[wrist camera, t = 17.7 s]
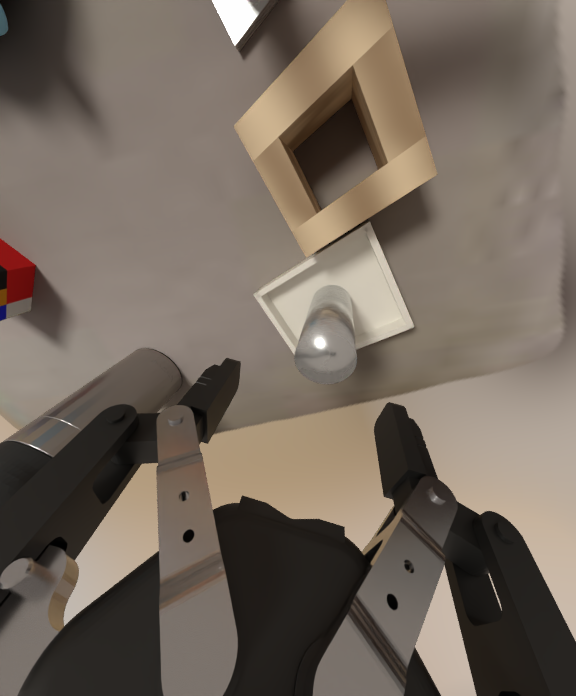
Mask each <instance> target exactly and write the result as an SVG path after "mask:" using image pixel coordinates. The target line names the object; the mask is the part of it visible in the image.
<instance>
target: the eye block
mask: <svg viewBox="0 0 576 696" xmlns="http://www.w3.org/2000/svg"><path fill="white" fill-rule="evenodd" d="M350 99H352V101H353V104H354V107H355V109H356V112H357V115H358V117H359V120H360V122H361V125H362V128H363V130H364V133H365V136H366V138H367V141H368V143H369V146H370V149H371V151H372V154H373V157H374V159H375V162H376V165H377V167H378V171H376V172H375V173H373V174H372V175H371V176H369V177H368V178H366V179H365V180H364V181H362V182H361V183H359V184H358V185H357V186H355V187H354V188H352V189H351V190H350V191H348V192H347V193H345V194H344V195H343V196H341V197H340V198H338V199H337V200H336V201H334V202H333V203H331V204H330V205H329V206H327V207H326V208H324V209H323V210H321V208H320V206H319V204H318V202H317V200H316V198H315V196H314V194H313V192H312V190H311V188H310V186H309V184H308V182H307V180H306V177H305V175H304V173H303V171H302V169H301V167H300V165H299V163H298V161H297V159H296V157H295V155H294V153H293V151H294V150H295V149H296V148H297V147H298V146H299V145H300V144H301V143H303V142H304V141H305V140H306V139H307V138H308V137H309V136H310V135H311V134H313V133H314V132H315V131H316V130H317V129H318V128H319V127H320V126H321V125H323V124H324V123H325V122H326V121H327V120H328V119H329V118H330V117H331V116H333V115H334V114H335V113H336V112H337V111H338V110H339V109H340V108H341V107H343V106H344V105H345V104H346V103H347V102H348V101H349V100H350ZM234 128H235V130H236V132H237V133H238V135H239V137H240V139H241V141H242V142H243V144H244V146H245V148H246V150H247V151H248V153H249V155H250V157H251V159H252V160H253V162H254V164H255V166H256V168H257V169H258V171H259V173H260V175H261V177H262V178H263V180H264V182H265V184H266V186H267V187H268V189H269V191H270V193H271V195H272V197H273V198H274V200H275V202H276V204H277V206H278V207H279V209H280V211H281V213H282V215H283V216H284V218H285V220H286V222H287V224H288V225H289V227H290V229H291V231H292V233H293V234H294V236H295V238H296V240H297V242H298V243H299V245H300V247H301V249H302V251H303V252H304V254H305V256H306V257H308V256H309V255H311V254H313V253H314V252H316V251H317V250H319V249H321V248H322V247H324V246H325V245H327V244H328V243H330V242H332V241H333V240H335V239H336V238H338V237H339V236H341V235H343V234H344V233H346V232H347V231H349V230H350V229H352V228H354V227H355V226H357V225H358V224H360V223H362V222H363V221H365V220H366V219H368V218H369V217H371V216H373V215H374V214H376V213H377V212H379V211H380V210H382V209H384V208H385V207H387V206H388V205H390V204H392V203H393V202H395V201H396V200H398V199H399V198H401V197H403V196H404V195H406V194H407V193H409V192H410V191H412V190H414V189H415V188H417V187H418V186H420V185H422V184H423V183H425V182H426V181H428V180H429V179H431V178H433V177H434V176H436V175H437V171H436V168H435V165H434V161H433V158H432V154H431V151H430V148H429V144H428V141H427V138H426V134H425V131H424V128H423V124H422V121H421V117H420V114H419V111H418V107H417V104H416V101H415V97H414V94H413V91H412V87H411V84H410V80H409V77H408V74H407V70H406V67H405V64H404V60H403V57H402V54H401V50H400V47H399V43H398V40H397V37H396V33H395V30H394V27H393V23H392V20H391V17H390V13H389V10H388V7H387V3H386V0H347V1H346V2H345V3H344V4H343V6H342V7H341V8H340V9H339V10H338V11H337V12H336V13H335V14H334V16H333V17H332V18H331V19H330V20H329V21H328V22H327V23H326V24H325V26H324V27H323V28H322V29H321V30H320V31H319V32H318V33H317V34H316V36H315V37H314V38H313V39H312V40H311V41H310V42H309V43H308V44H307V45H306V47H305V48H304V49H303V50H302V51H301V52H300V53H299V54H298V55H297V57H296V58H295V59H294V60H293V61H292V62H291V63H290V64H289V65H288V67H287V68H286V69H285V70H284V71H283V72H282V73H281V74H280V75H279V77H278V78H277V79H276V80H275V81H274V82H273V83H272V84H271V85H270V87H269V88H268V89H267V90H266V91H265V92H264V93H263V94H262V95H261V97H260V98H259V99H258V100H257V101H256V102H255V103H254V104H253V105H252V107H251V108H250V109H249V110H248V111H247V112H246V113H245V114H244V115H243V116H242V118H241V119H240V120H239V121H238V122H237V123H236V124H235V125H234Z"/></svg>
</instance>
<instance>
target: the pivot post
mask: <svg viewBox="0 0 576 696" xmlns="http://www.w3.org/2000/svg"><path fill="white" fill-rule="evenodd" d="M212 1H213V3H214V5H215V7H216V9H217V11H218V13H219V15H220V17H221V19H222V21H223V23H224V25H225V27H226V29H227V31H228V33H229V35H230V37H231V39H232V41H233V43H234V45H235V47H236V48H237V50H238V51H240V50H241V49H242V47H243V46H244V45H245V44H246V42H247V41H248V40H249V38H250V37H251V36H252V35H253V33H254V32H255V31H256V29H257V28H258V27H259V26H260V24H261V23H262V22H263V20H264V19H265V18H266V17H267V15H268V14H269V13H270V11H271V10H272V9H273V7H274V6H275V5H276V4H277V2H278V1H279V0H212Z"/></svg>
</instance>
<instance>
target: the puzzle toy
mask: <svg viewBox="0 0 576 696" xmlns="http://www.w3.org/2000/svg"><path fill="white" fill-rule="evenodd" d="M35 267H36V265H35V264H33V263H32V262H31V261H29V260H28V259H27V258H25V257H24V256H23V255H21V254H20V253H19V252H17V251H16V250H15V249H13V248H12V247H11V246H9V245H8V244H7V243H5V242H4V241H3V240H1V239H0V321H1V320H4V319H7V318H10V317H13V316H16V315H19V314H22V313H25V312H28V311H31V304H32V294H33V285H34V276H35Z"/></svg>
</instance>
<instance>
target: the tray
mask: <svg viewBox="0 0 576 696" xmlns="http://www.w3.org/2000/svg"><path fill="white" fill-rule="evenodd" d="M326 285H337V286H340V287H342V288H344V289H345V290H346V291H347V292H348V293H349V295H350V297H351V301H352V311H353V322H354V332H355V343H356V349H359V348H362V347H364V346H367V345H370V344H372V343H375V342H377V341H380V340H383V339H385V338H388V337H390V336H393V335H396V334H398V333H401V332H403V331H406V330H409V329H411V328H414V325H413V322H412V320H411V317H410V315H409V313H408V310H407V308H406V306H405V303H404V301H403V299H402V296H401V294H400V292H399V289H398V287H397V284H396V282H395V280H394V277H393V275H392V273H391V270H390V268H389V266H388V263H387V261H386V259H385V256H384V254H383V252H382V249H381V247H380V244H379V242H378V240H377V237H376V235H375V233H374V230H373V228H372V226H371V223H370V221H368V220H367V221H366V222H364V223H362V224H361V225H359V226H358V227H356V228H355V229H353V230H351V231H350V232H348V233H347V234H345V235H343V236H342V237H340V238H339V239H337V240H336V241H334V242H332V243H331V244H329V245H328V246H326V247H324V248H323V249H321V250H320V251H318V252H316V253H315V254H313V255H312V256H310V257H309V258H307V259H305V260H304V261H302V262H301V263H299V264H297V265H296V266H294V267H293V268H291V269H290V270H288V271H286V272H285V273H283V274H282V275H280V276H278V277H277V278H275V279H274V280H272V281H270V282H269V283H267V284H266V285H264V286H263V287H261V288H260V289H259V290H258V291H256V292H255V293H254V294H253V295H254V296H255V298H256V299H257V301H258V302H259V304H260V305H261V307H262V308H263V309H264V311H265V312H266V314H267V315H268V317H269V318H270V320H271V321H272V323H273V324H274V326H275V327H276V328H277V330H278V331H279V333H280V334H281V336H282V337H283V339H284V340H285V342H286V343H287V345H288V346H289V348H290V349H291V350H292V352H293V353H294V355H295V351H296V348H297V344H298V341H299V338H300V335H301V332H302V329H303V326H304V323H305V320H306V317H307V313H308V310H309V307H310V304H311V301H312V298H313V296H314V294H315V293H316V291H317V290H319V289H320V288H322V287H324V286H326Z"/></svg>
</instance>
